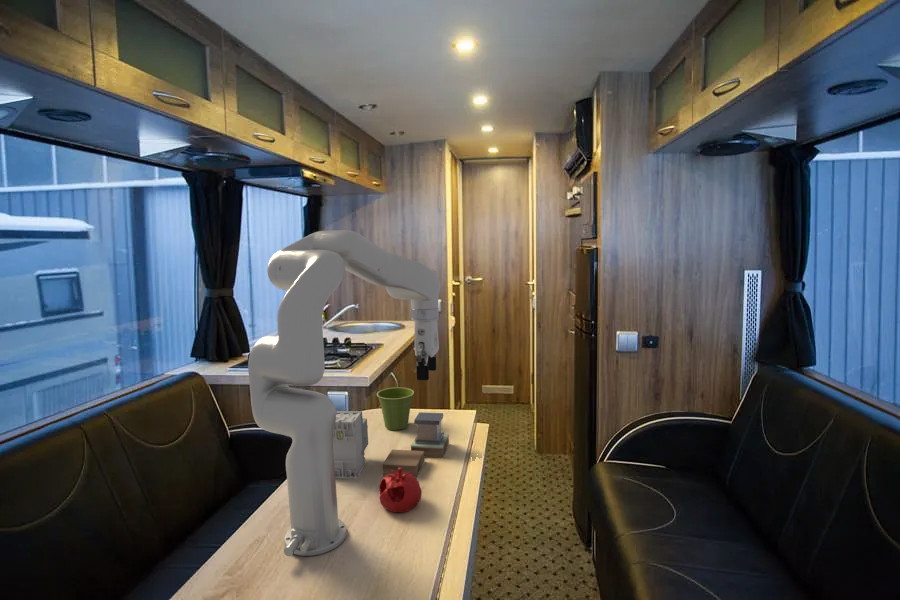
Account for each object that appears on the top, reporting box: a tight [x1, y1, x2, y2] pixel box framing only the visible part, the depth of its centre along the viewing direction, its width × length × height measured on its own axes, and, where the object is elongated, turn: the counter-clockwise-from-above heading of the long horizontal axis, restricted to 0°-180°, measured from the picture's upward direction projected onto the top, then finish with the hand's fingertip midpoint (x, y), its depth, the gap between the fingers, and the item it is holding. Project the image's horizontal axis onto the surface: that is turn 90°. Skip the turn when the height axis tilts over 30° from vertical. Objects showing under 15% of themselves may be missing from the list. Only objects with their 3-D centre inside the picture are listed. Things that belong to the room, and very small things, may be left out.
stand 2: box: [410, 433, 450, 458], centre depth 152 cm, size 9×9×3 cm
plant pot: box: [376, 386, 415, 431], centre depth 169 cm, size 12×12×11 cm
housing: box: [413, 411, 445, 445], centre depth 151 cm, size 6×7×7 cm
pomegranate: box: [378, 467, 422, 513], centre depth 122 cm, size 10×10×9 cm
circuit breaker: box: [333, 410, 369, 479], centre depth 143 cm, size 8×14×15 cm, turn 174°
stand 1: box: [381, 449, 426, 478], centre depth 141 cm, size 9×9×3 cm
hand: (427, 374), depth 149 cm, fingers open, 9 cm apart
